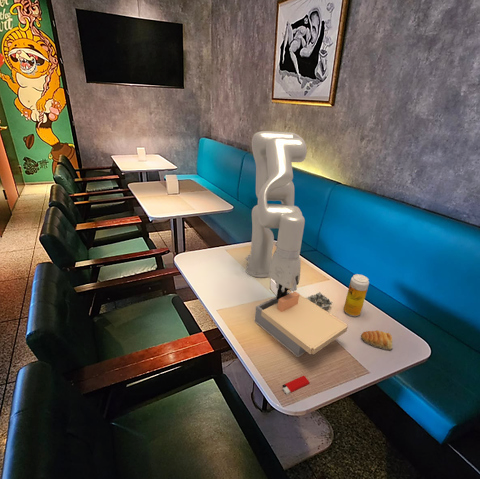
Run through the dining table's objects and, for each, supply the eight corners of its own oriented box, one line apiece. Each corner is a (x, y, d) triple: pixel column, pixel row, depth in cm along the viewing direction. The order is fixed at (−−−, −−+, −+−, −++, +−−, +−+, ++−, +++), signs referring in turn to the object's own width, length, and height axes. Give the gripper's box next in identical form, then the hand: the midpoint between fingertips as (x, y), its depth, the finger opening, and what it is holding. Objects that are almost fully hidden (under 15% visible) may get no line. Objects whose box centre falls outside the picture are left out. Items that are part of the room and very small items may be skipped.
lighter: (309, 382, 83) (286, 393, 79) (309, 385, 83) (285, 396, 80) (303, 374, 85) (280, 385, 81) (302, 377, 86) (279, 388, 82)
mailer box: (254, 321, 106) (256, 306, 103) (285, 305, 115) (288, 291, 112) (297, 357, 92) (300, 340, 89) (329, 336, 101) (333, 320, 98)
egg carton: (312, 317, 110) (314, 308, 108) (298, 306, 116) (300, 297, 114) (332, 309, 115) (334, 300, 113) (318, 298, 121) (320, 290, 119)
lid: (261, 315, 100) (262, 300, 98) (297, 297, 111) (299, 283, 108) (311, 355, 85) (315, 339, 83) (347, 330, 96) (351, 315, 93)
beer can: (339, 309, 115) (348, 275, 109) (352, 305, 118) (361, 272, 111) (351, 318, 110) (360, 284, 104) (363, 315, 113) (373, 281, 106)
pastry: (362, 346, 98) (364, 337, 97) (359, 332, 104) (361, 323, 103) (392, 352, 97) (395, 342, 95) (387, 337, 103) (390, 328, 101)
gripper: (263, 245, 99) (258, 291, 107) (297, 263, 89) (289, 314, 96) (279, 240, 104) (273, 285, 111) (314, 257, 93) (305, 306, 101)
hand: (281, 298), depth 104 cm, fingers closed
